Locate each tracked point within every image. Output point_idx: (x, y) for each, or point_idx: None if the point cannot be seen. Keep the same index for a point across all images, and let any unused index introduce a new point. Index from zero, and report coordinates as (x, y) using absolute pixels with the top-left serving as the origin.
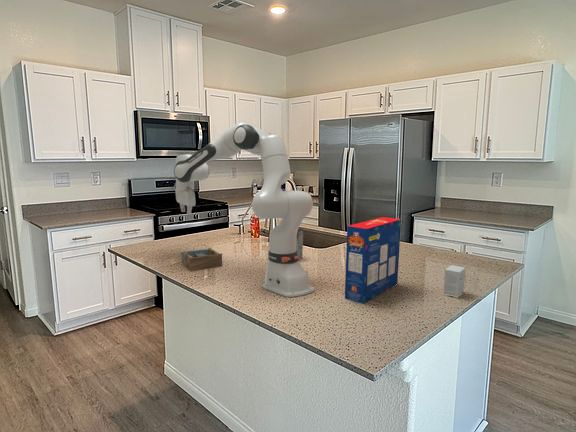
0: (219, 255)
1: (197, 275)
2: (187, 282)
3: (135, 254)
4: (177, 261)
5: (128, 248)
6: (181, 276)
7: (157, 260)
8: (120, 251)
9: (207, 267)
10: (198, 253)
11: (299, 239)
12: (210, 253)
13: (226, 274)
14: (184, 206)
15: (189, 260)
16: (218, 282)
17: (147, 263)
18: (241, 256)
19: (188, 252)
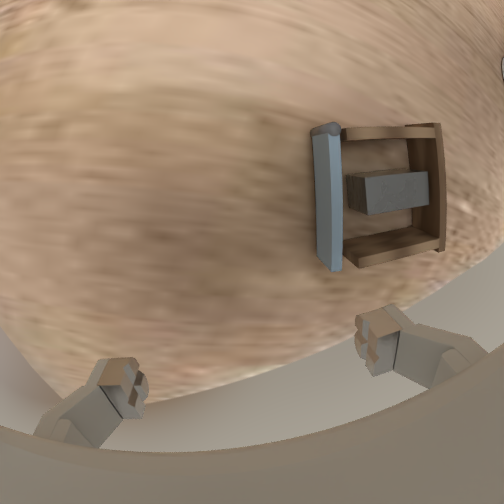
0: (438, 133)
1: (452, 225)
2: (473, 257)
3: None
4: (292, 266)
5: (74, 386)
6: (440, 267)
7: (248, 331)
8: None
9: None
10: (367, 196)
11: None
12: (364, 139)
13: (470, 150)
14: (77, 402)
15: (433, 249)
16: (496, 192)
17: (274, 357)
18: (312, 14)
19: (340, 237)
